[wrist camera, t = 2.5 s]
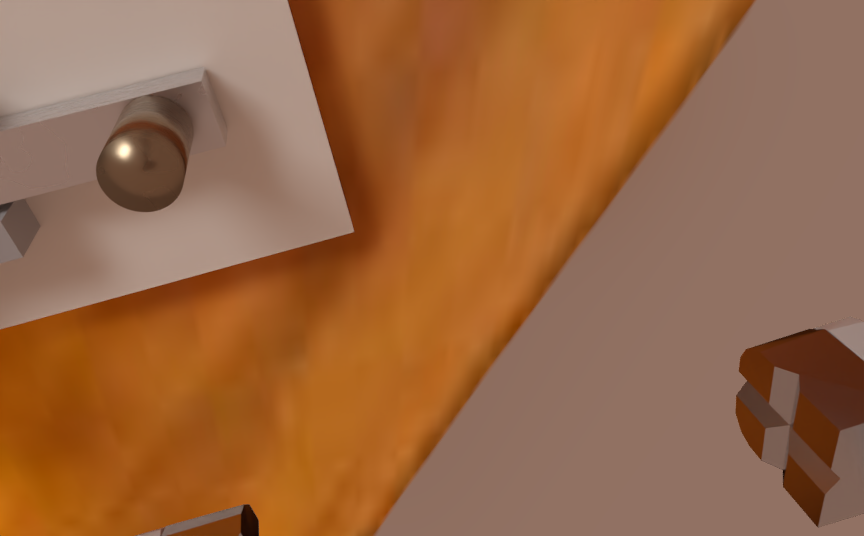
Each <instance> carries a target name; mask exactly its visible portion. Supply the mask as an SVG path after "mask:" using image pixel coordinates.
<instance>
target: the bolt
mask: <svg viewBox="0 0 864 536" xmlns="http://www.w3.org/2000/svg"><path fill="white" fill-rule="evenodd" d="M227 132H228V128H227V125H226V123H225V120H224V117H223V115H222V112H221V109H220V107H219V104H218V101H217V99H216V96H215V93H214V91H213V88H212V85H211V83H210V80H209V77H208V75H207V72H206V69H205V67H202V68H198V69H194V70H190V71H186V72H182V73H178V74H174V75H170V76H166V77H162V78H158V79H154V80H149V81H145V82H141V83H137V84H133V85H129V86H125V87H121V88H117V89H113V90H109V91H105V92H101V93H97V94H93V95H89V96H85V97H81V98H77V99H73V100H69V101H65V102H61V103H57V104H53V105H49V106H45V107H41V108H37V109H33V110H29V111H25V112H21V113H17V114H13V115H9V116H5V117H1V118H0V205H1V204H5V203H9V202H13V201H17V200H20V199H24V198H28V197H32V196H36V195H40V194H44V193H47V192H51V191H55V190H59V189H63V188H67V187H71V186H74V185H78V184H82V183H86V182H90V181H94V180H98V183H99V185H100V187H101V189H102V191H103V192H104V193H105V194H106V196H107V197H108V198H109V199H111V200H112V201H113V202H114V203H116V204H118V205H119V206H121V207H123V208H126V209H128V210H132V211H137V212H153V211H158V210H161V209H163V208H165V207H167V206H169V205H170V204H172V203H173V202H174V201H175V200H176V199H177V198H178V196H179V195H180V193H181V191H182V188H183V184H184V179H185V174H186V170H187V165H188V160H189V156H190V155H194V154H198V153H202V152H205V151H209V150H213V149H217V148H221V147H225V146H226V143H227Z"/></svg>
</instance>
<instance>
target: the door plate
mask: <svg viewBox="0 0 864 536" xmlns="http://www.w3.org/2000/svg"><path fill="white" fill-rule="evenodd" d="M202 67H205V69H206V72H207V75H208V77H209V80H210V83H211V85H212V88H213V91H214V93H215V96H216V99H217V101H218V104H219V107H220V109H221V112H222V115H223V117H224V120H225V123H226V125H227V128H228V132H227V143H226V146H225V147H221V148H217V149H213V150H209V151H205V152H202V153H198V154H194V155H190V156H189V160H188V165H187V170H186V174H185V179H184V184H183V188H182V191H181V193H180V195H179V196H178V198H177V199H176V200H175V201H174V202H173V203H172V204H170V205H169V206H167V207H165V208H163V209H161V210H158V211H153V212H137V211H132V210H128V209H126V208H123V207H121V206H119V205H118V204H116V203H114V202H113V201H112V200H111V199H109V198H108V197H107V196H106V194H105V193H104V192H103V191H102V189H101V187H100V185H99V183H98V180H94V181H90V182H86V183H82V184H78V185H74V186H71V187H67V188H63V189H59V190H55V191H51V192H47V193H44V194H40V195H36V196H32V197H28V198H24V199H20V200H17V201H13V202H9V203H5V204H1V205H0V329H3V328H7V327H11V326H14V325H18V324H22V323H25V322H29V321H32V320H36V319H40V318H43V317H47V316H51V315H54V314H58V313H62V312H65V311H69V310H72V309H76V308H80V307H83V306H87V305H91V304H94V303H98V302H102V301H105V300H109V299H112V298H116V297H120V296H123V295H127V294H131V293H134V292H138V291H142V290H145V289H149V288H152V287H156V286H160V285H163V284H167V283H171V282H174V281H178V280H182V279H185V278H189V277H192V276H196V275H200V274H203V273H207V272H211V271H214V270H218V269H222V268H225V267H229V266H232V265H236V264H240V263H243V262H247V261H251V260H254V259H258V258H262V257H265V256H269V255H272V254H276V253H280V252H283V251H287V250H291V249H294V248H298V247H302V246H305V245H309V244H312V243H316V242H320V241H323V240H327V239H331V238H334V237H338V236H342V235H345V234H349V233H352V232H354V229H353V225H352V221H351V217H350V214H349V210H348V207H347V204H346V200H345V197H344V193H343V190H342V186H341V183H340V179H339V176H338V172H337V169H336V166H335V162H334V159H333V155H332V152H331V148H330V145H329V141H328V138H327V134H326V131H325V128H324V124H323V121H322V117H321V114H320V110H319V107H318V103H317V100H316V96H315V93H314V90H313V86H312V83H311V79H310V76H309V72H308V69H307V65H306V62H305V58H304V55H303V51H302V48H301V45H300V41H299V38H298V34H297V31H296V27H295V24H294V20H293V17H292V13H291V10H290V7H289V3H288V0H0V118H1V117H5V116H9V115H13V114H17V113H21V112H25V111H29V110H33V109H37V108H41V107H45V106H49V105H53V104H57V103H61V102H65V101H69V100H73V99H77V98H81V97H85V96H89V95H93V94H97V93H101V92H105V91H109V90H113V89H117V88H121V87H125V86H129V85H133V84H137V83H141V82H145V81H149V80H154V79H158V78H162V77H166V76H170V75H174V74H178V73H182V72H186V71H190V70H194V69H198V68H202Z"/></svg>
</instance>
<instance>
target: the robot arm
mask: <svg viewBox="0 0 864 536" xmlns="http://www.w3.org/2000/svg"><path fill="white" fill-rule="evenodd" d="M739 372H740V373H741V374H742V375H743V376H744V377H745V378H746V380H747V382H746V383H745V384H744V386H743V387H742V388H741V390H740V391H739V392H738V394H737V395H736V416H737V419H738V422H739V426H740V429H741V432H742V434H743V435H744V437H745V439H746V441H747V442H748V444H749V446H750V447H751V448H752V450H753V451H754V452H755V453H756V455H757V456H758V457H759V458H760V459H761V461H764V462H766V463H768V464H770V465H773V466H775V467H777V468H779V469H782V470H783V487H784V488H785V489H786V491H787V492H788V493H789V494H790V495H791V496H792V498H793V499H794V500H795V501H796V502H797V504H799V506H800V507H801V508H802V509H803V511H804V512H805V513H806V514H807V515H808V516H809V518H810V519H811V520H812V521H813V522H814V524H815V525H816V526H817V527H821V526H825V525H828V524H831V523H835V522H838V521H841V520H844V519H848V518H851V517H854V516H858V515H861V514H864V321H862V320H860V319H857V318H853V317H848V318H845V319H841V320H838V321H835V322H831V323H828V324H825V325H822V326H819V327H816V328H814V329H808V330H805V331H801V332H798V333H795V334H792V335H789V336H786V337H783V338H779V339H776V340H773V341H770V342H767V343H764V344H761V345H758V346H755V347H752V348H748V349H746V350H745V352H744V353H743V354H742V356H741V358H740V367H739ZM136 536H259V520H258V518H257V517H256V515H255V513H254V512H253V510H252V508H251V506H250V505H249V504H246V505H241V506H237V507H233V508H230V509H226V510H223V511H219V512H216V513H212V514H208V515H205V516H201V517H198V518H194V519H191V520H187V521H183V522H180V523H176V524H173V525H169V526H166V527H164V528H160V529H157V530H153V531H150V532H146V533H143V534H139V535H136Z"/></svg>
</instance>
